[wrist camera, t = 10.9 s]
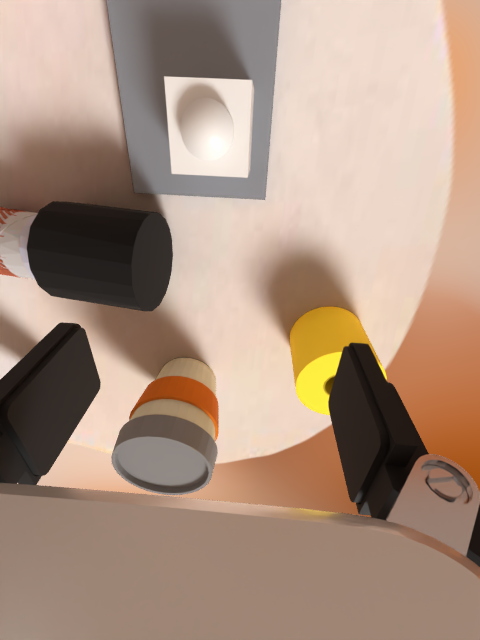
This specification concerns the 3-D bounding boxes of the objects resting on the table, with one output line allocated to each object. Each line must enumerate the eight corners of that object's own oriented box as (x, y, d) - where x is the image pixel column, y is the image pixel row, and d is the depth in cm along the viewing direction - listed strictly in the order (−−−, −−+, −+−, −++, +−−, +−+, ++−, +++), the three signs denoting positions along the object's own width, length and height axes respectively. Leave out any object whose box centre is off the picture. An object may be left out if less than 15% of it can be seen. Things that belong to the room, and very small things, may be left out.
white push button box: (182, 85, 27) (160, 74, 21) (254, 88, 26) (251, 78, 21) (186, 166, 30) (168, 175, 24) (250, 169, 30) (247, 179, 24)
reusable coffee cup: (231, 404, 51) (221, 496, 38) (160, 406, 52) (127, 495, 39) (221, 346, 44) (204, 434, 31) (139, 349, 45) (92, 435, 33)
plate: (98, -101, 22) (90, -112, 21) (288, -97, 22) (289, -108, 21) (138, 190, 33) (134, 192, 32) (265, 197, 32) (265, 199, 31)
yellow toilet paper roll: (313, 295, 39) (326, 338, 31) (378, 323, 40) (406, 371, 32) (277, 349, 44) (280, 399, 36) (336, 372, 45) (351, 424, 37)
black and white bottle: (-73, 193, 39) (-193, 159, 29) (176, 225, 36) (138, 198, 26) (-75, 271, 40) (-192, 263, 30) (166, 309, 37) (126, 314, 27)
